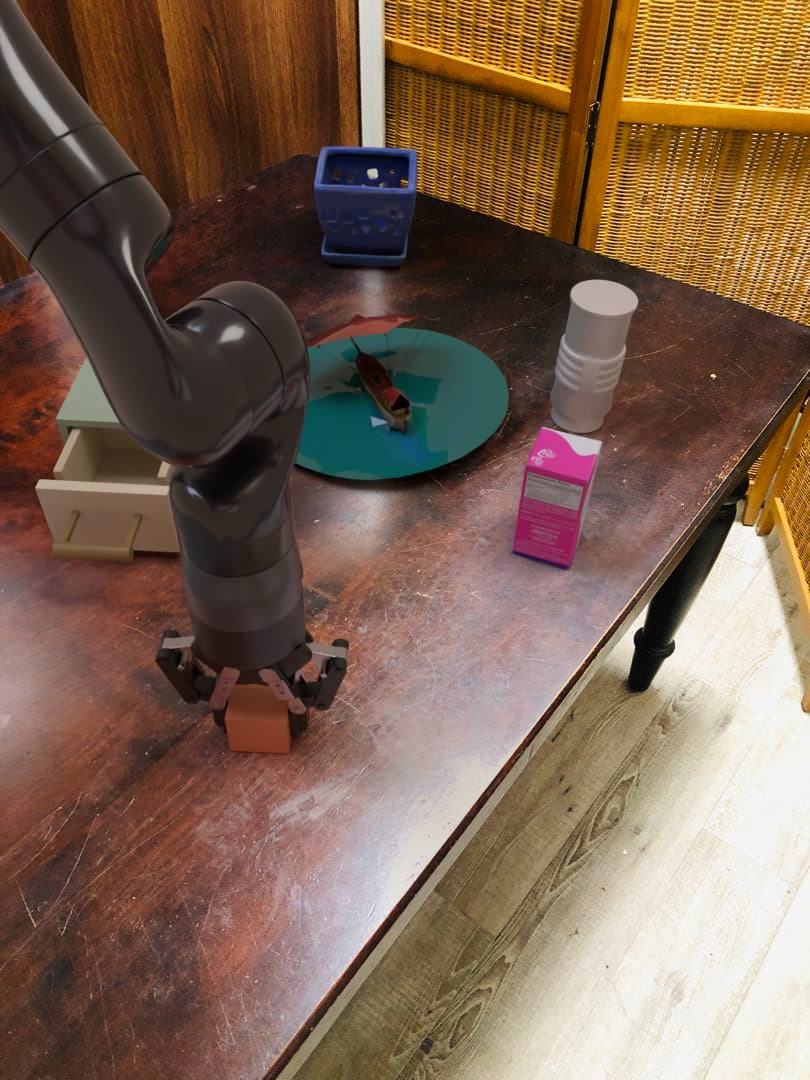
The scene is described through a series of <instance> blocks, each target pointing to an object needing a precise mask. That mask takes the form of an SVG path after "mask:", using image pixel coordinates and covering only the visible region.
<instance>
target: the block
mask: <svg viewBox="0 0 810 1080" xmlns="http://www.w3.org/2000/svg"><path fill="white" fill-rule="evenodd" d="M288 709H289V708H288V706H287V705H286V703H285V702H284V701H279V700H278V698H277V697H276V695H275V694H274V692H273V691H272V689H271V688H270V686H263V685H258V684H248V685H236V684H235V685H234V688H233V690H232V693H231V695H230V698H229V700H228V705H227V710H226V715H225V723H226V728H227V733H228V734H227V733H226V734H227V738H228V743H229V748H230V751H232V752H247V753H248V752H250V753H269V754H284V755H285V754H290V748H291V743H292V737H290V729H289V719H288Z"/></svg>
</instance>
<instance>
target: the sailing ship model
mask: <svg viewBox="0 0 810 1080" xmlns="http://www.w3.org/2000/svg"><path fill="white" fill-rule="evenodd" d="M417 319H419V320H423V322H422V323H421V327H420V328H408V327H397V326H399V325H401V324H402V323H406V322H410V321H414V320H417ZM426 320H427V321H428V320H429V321H433V322H437V323H435V325H434V327H433V329H432V330H428V329H422V327H423V326H424V323H425V321H426ZM439 322H441V319H437V318H431V317H426V316H423V315H415V314H414V315H413V314H398V313H395V314H394V313H390V314H389V313H388V314H381V315H373V316H368V317H365V316H363V315H360V314H357V313H356V314H355V315H354V316H353V317H352V318H351V319H350V320H349V321H348V322H346V323H340V324H337V325H336V326H333V327H331V328H327V329H325V330H323V331H320V332H318V333H316V334H314V335H312V336H310V337H308V338H305V341H306V344H307V348H308V353H309V359H310V392H309V399H308V405H307V411H306V416H305V421H304V426H303V431H302V436H301V441H300V446H299V451H298V455H297V459H296V462H295V465H296V464H297V465H299V466H301V467H304V468H305V469H310V470H312V471H315V472H318V473H321V474H325V475H328V476H331V477H332V476H333V477H338V478H344V479H350V480H365V481H372V480H373V481H375V480H384V479H393V478H402V477H406V476H411V475H414V474H415V475H416V474H419V473H422V472H426V471H431V470H434V469H436V468H437V469H438V468H439V467H442V466H444V465H446V464H449V463H452V462H454V461H457V460H459V459H461V458H463V457H465V456H466V455H468V454H469V453H471V452H472V451H474V450H476V449H477V448H478V447H479V446H481V445H483V444H484V443H485V442H486V441H487V440H488V439H489V438H490V437H491V436H493V434H494V433H496V431H497V429H498V428H499V427H500V426H501V425H502V423H503V421H504V419H505V417H506V414H507V411H508V408H509V399H510V397H509V396H510V394H509V393H510V392H509V388H508V384H507V379H506V377H505V376H504V374H503V373H502V371H501V370H500V368H499V367H498V365H497V364H496V363H495V362H494V361H493V360H492V359H491V358H490V357H489V356H487V354H485V353H484V352H483V351H482V350H481V349H479V348H477V347H475V346H474V345H471V344H469V343H467V342H466V341H463V340H461V339H459V338H456V337H453V336H451V335H448V334H444V333H442V332H437V331H434V329H435V327H436V326H437V325H438V323H439Z"/></svg>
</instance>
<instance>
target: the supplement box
mask: <svg viewBox="0 0 810 1080" xmlns="http://www.w3.org/2000/svg"><path fill="white" fill-rule="evenodd" d="M602 446H603V441H601V440H597V439H593V438H589V437H584V436H580V435H576V434H571V433H567V432H564V431H560V430H556V429H553V428H548V427H545V426H542V427H541V429H540V431H539V434H538V435H537V437H536V440H535V442H534V444H533V446H532V448H531V451H530V452H529V453H530V454H529V455H528V458H527V460H526V462H525V465H524V470H523V471H524V472H523V478H522V485H521V491H520V498H519V504H518V510H517V517H516V523H515V529H514V530H515V531H514V537H513V543H512V548H511V549H512V550H511V553H512V554H514V555H517V556H521V557H524V558H529V559H531V560H535V561H537V562H541V563H545V564H547V565H551V566H554V567H558V568H561V569H563V570H567V571H568V570H570V568H571V565H572V563H573V561H574V558H575V555H576V552H577V550H578V547H579V544H580V541H581V537H582V534H583V531H584V524H585V520H586V515H587V511H588V507H589V502H590V499H591V494H592V490H593V485H594V481H595V477H596V472H597V469H598V468H597V467H598V463H599V459H600V454H601V450H602Z"/></svg>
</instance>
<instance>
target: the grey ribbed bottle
mask: <svg viewBox="0 0 810 1080" xmlns="http://www.w3.org/2000/svg"><path fill="white" fill-rule="evenodd" d="M569 301H570V307H569V311H568V316H567V321H566V326H565V332H564V333H563V335H562V336H561V338H560V342H559V348H558V351H557V358H556V363H555V364H556V365H555V368H554V377H555V379H554V382H553V385H552V388H551V393H550V395H549V401H550V403H551V406H552V408H551V411H550V416H551V419H552V421H553V422H554V423H555V424H556V425H557V426H559V427H560V428H562V429H563V430H566V431H568V432H572V433H578V434H585V433H591V432H595V431H597V430H599V429H600V428H602V427H601V426H603V424H604V417H605V416H606V415H608V414H609V412H610V411H611V408H612V405H613V404H612V403H613V397H614V390H615V388H616V387H617V385H618V384H619V380H620V376H621V372H622V367H623V364H624V360H625V357H626V353H627V346H626V340H627V336H628V333H629V328H630V325H631V321H632V318H633V314H634V313H635V311H637V308H638V304H639V299H638V296H637V295H636V293H635V292H634V291H633V290H632V289H630V288H629V287H627V286H626V285H623V284H621V283H618V282H616V281H612V280H607V279H589V280H584V281H580V282H578V283H577V284H575V285H574V286H573V287H572V288H571V291H570V293H569Z"/></svg>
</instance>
